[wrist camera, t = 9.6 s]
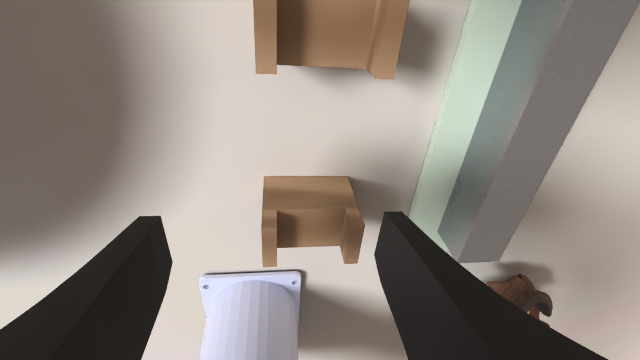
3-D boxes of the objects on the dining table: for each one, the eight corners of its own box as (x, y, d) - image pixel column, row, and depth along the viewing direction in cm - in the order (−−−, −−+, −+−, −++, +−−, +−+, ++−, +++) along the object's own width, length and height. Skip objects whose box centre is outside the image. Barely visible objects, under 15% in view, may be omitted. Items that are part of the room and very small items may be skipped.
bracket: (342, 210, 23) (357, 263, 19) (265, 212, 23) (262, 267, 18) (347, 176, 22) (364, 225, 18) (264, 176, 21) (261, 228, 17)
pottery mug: (408, 272, 29) (496, 324, 22) (473, 230, 33) (565, 263, 26) (419, 368, 33) (497, 437, 26) (476, 320, 37) (557, 369, 30)
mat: (488, 244, 27) (492, 249, 27) (399, 247, 26) (401, 253, 26) (628, -37, 16) (639, -37, 16) (486, -52, 15) (493, -53, 15)
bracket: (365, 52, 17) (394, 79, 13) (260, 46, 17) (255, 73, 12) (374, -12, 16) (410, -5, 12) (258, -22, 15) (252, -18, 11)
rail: (437, 231, 25) (475, 230, 25) (456, 263, 22) (498, 261, 23) (541, -54, 15) (600, -48, 15) (599, -59, 12) (668, -51, 13)
